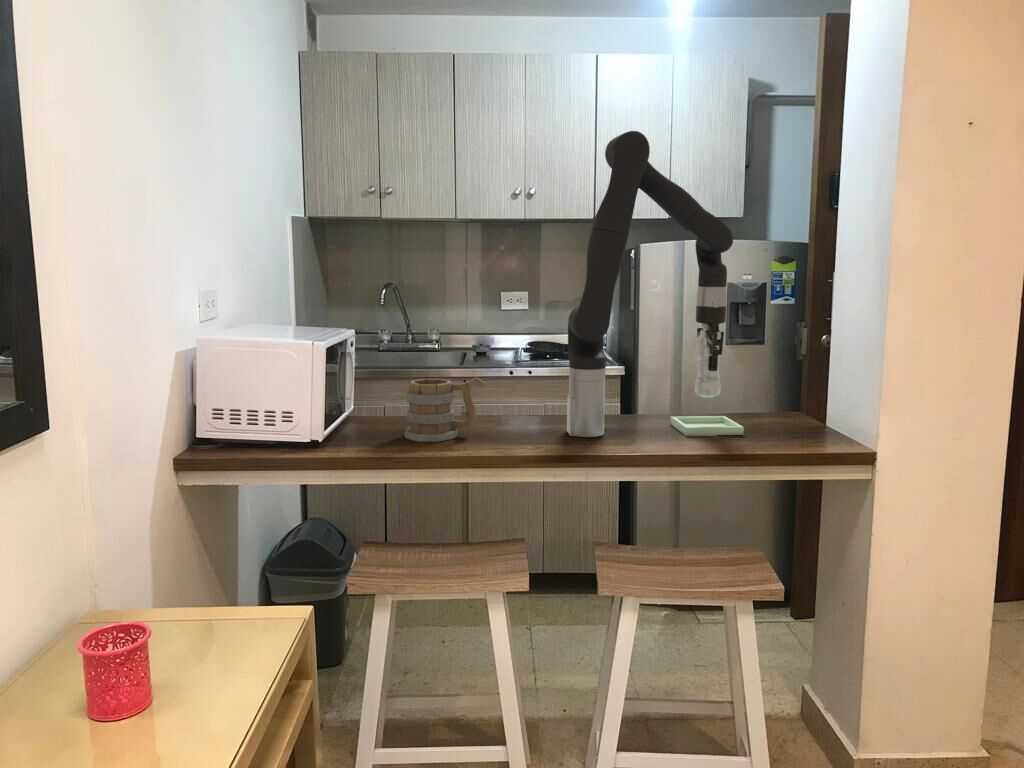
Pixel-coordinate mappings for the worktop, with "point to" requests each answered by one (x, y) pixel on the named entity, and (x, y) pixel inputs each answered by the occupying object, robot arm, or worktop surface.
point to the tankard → (437, 409)
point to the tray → (706, 426)
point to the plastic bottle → (706, 370)
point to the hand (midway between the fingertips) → (708, 368)
